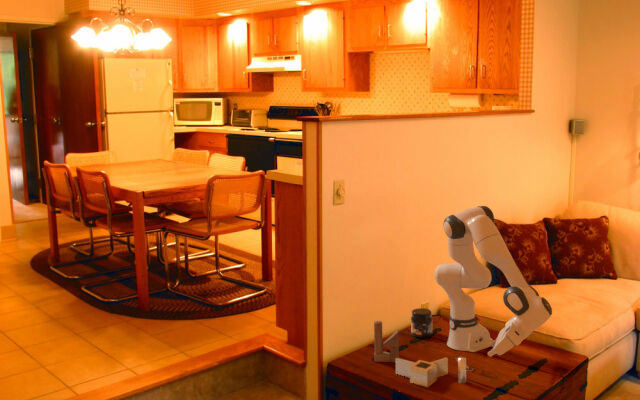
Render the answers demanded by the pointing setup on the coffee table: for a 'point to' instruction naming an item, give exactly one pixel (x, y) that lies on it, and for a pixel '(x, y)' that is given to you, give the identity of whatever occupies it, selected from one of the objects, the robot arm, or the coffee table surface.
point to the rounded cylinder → (462, 370)
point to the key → (466, 366)
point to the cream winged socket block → (422, 370)
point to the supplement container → (421, 323)
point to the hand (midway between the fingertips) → (490, 350)
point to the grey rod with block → (385, 345)
